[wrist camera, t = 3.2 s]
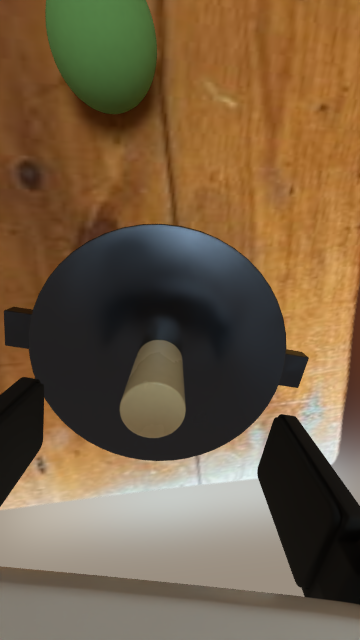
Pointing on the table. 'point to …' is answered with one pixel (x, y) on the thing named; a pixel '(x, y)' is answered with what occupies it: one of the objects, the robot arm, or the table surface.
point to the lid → (157, 342)
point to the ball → (103, 50)
